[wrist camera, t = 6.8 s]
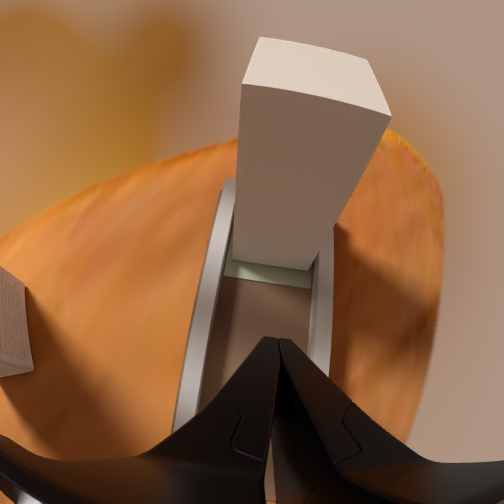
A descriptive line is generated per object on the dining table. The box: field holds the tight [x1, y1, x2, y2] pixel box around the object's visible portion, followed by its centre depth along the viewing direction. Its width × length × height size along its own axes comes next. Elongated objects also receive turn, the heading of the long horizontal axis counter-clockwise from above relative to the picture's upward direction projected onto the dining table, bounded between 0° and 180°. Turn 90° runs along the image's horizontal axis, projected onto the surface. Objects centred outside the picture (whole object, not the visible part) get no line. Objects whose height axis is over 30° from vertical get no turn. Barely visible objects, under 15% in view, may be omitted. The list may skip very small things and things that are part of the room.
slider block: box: [232, 37, 392, 271], centre depth 12 cm, size 4×4×10 cm
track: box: [171, 178, 334, 501], centre depth 14 cm, size 17×7×2 cm, turn 172°
